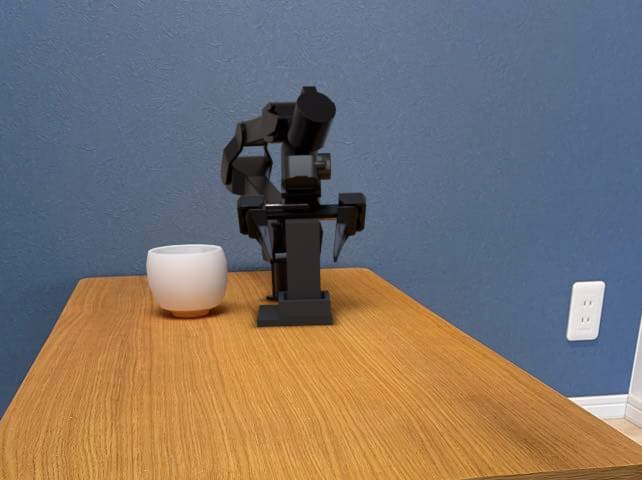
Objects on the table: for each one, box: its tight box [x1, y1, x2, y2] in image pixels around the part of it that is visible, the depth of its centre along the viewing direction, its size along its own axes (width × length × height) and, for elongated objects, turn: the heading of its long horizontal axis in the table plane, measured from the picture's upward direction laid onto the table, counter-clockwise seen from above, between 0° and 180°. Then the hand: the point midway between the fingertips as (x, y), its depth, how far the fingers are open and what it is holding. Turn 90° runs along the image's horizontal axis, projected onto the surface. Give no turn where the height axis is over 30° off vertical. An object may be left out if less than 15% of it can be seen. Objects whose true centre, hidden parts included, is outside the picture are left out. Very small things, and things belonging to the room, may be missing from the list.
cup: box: [145, 243, 229, 319], centre depth 132 cm, size 12×12×10 cm
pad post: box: [285, 218, 322, 300], centre depth 125 cm, size 5×5×13 cm
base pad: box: [256, 289, 333, 327], centre depth 129 cm, size 11×11×4 cm
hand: (303, 261), depth 123 cm, fingers open, 9 cm apart
